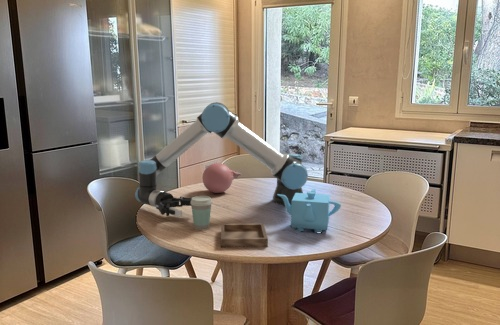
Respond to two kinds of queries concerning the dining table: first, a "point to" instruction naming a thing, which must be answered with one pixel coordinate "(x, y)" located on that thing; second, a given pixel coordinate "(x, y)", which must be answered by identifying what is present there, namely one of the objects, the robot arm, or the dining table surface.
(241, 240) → the wooden tray
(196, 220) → the coffee cup
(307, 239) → the dining table surface
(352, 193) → the dining table surface
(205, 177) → the pink balloon
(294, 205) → the teakettle
